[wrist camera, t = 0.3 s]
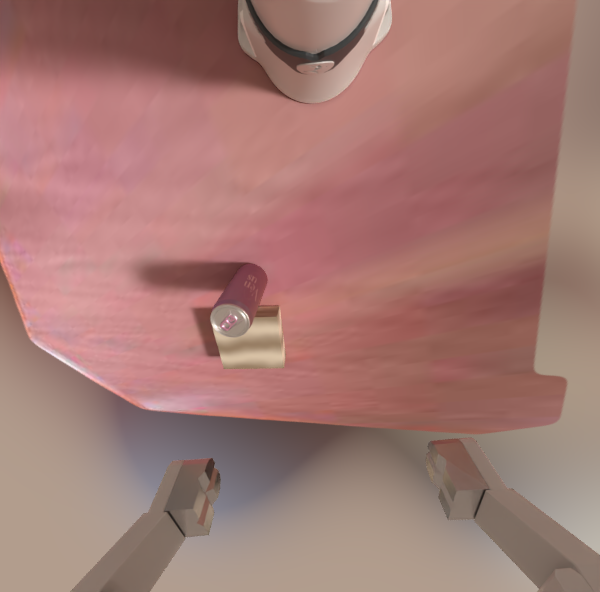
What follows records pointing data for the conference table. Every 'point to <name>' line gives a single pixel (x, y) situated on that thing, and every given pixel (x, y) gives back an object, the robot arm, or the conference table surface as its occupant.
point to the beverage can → (239, 301)
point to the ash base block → (255, 343)
